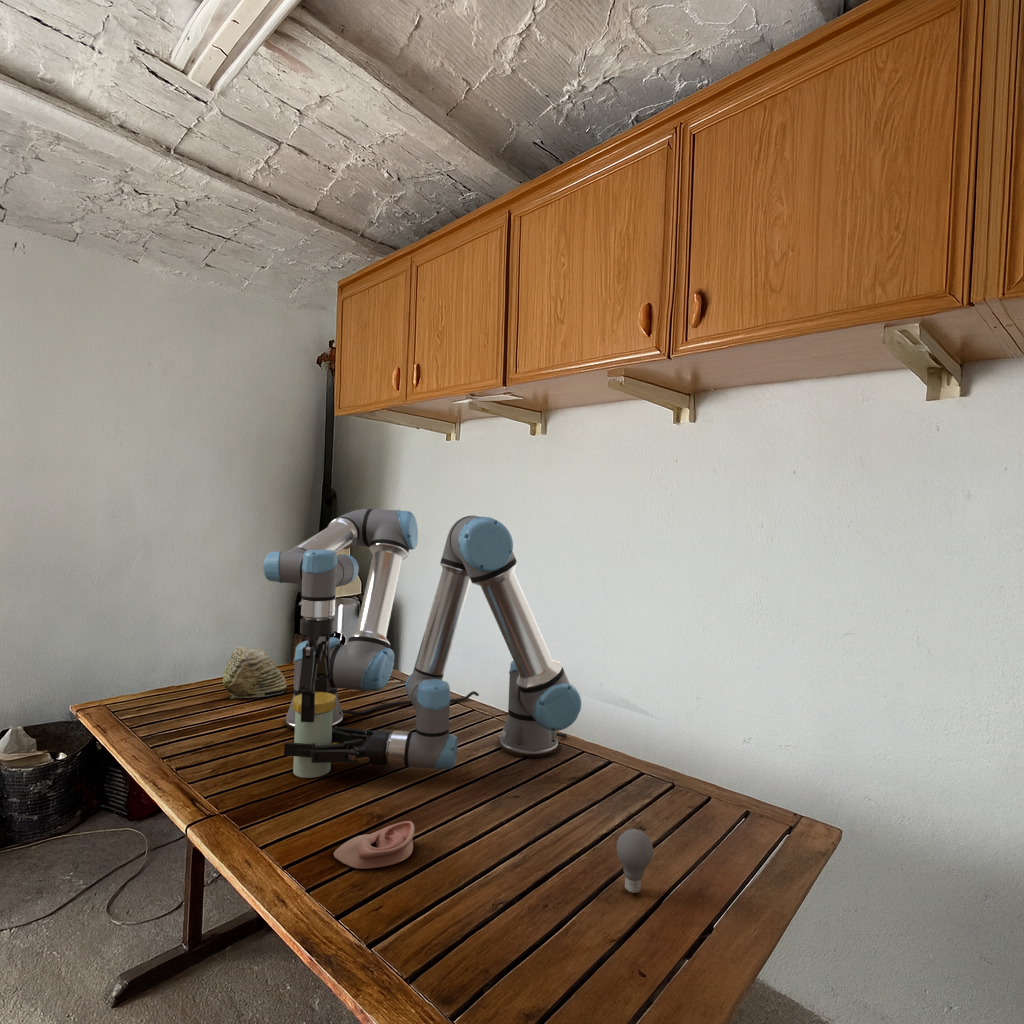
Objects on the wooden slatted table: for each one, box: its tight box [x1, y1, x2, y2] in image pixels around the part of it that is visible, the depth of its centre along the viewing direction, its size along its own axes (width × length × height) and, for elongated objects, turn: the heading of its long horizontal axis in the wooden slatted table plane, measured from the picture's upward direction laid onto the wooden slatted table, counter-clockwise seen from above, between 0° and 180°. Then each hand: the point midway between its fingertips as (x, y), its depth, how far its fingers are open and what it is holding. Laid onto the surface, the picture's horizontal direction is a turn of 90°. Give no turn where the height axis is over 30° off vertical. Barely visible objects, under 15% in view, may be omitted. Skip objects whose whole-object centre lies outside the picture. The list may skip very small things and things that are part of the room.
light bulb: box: [615, 828, 654, 894], centre depth 106 cm, size 6×6×10 cm
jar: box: [292, 709, 333, 779], centre depth 146 cm, size 8×8×16 cm
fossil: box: [222, 646, 288, 699], centre depth 198 cm, size 9×18×15 cm, turn 132°
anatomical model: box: [333, 820, 415, 870], centre depth 114 cm, size 13×4×12 cm
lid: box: [292, 692, 336, 714], centre depth 146 cm, size 10×10×2 cm
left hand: (314, 713), depth 146 cm, fingers closed on lid, 9 cm apart
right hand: (293, 741), depth 147 cm, fingers closed on jar, 8 cm apart
